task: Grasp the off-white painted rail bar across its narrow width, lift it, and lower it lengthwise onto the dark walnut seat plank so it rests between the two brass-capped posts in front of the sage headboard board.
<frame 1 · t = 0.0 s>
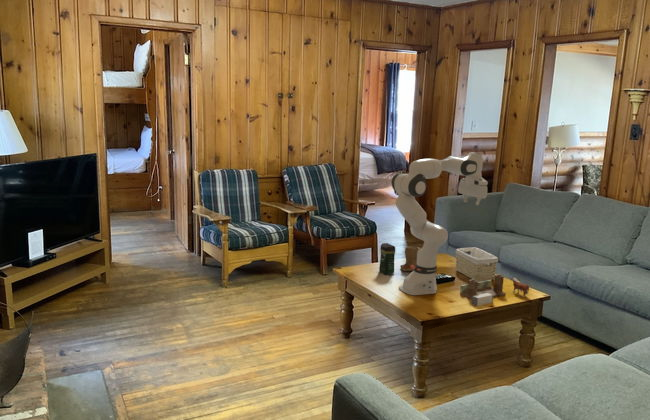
hand: (471, 203, 319), 48 cm above the table, fingers open, 8 cm apart
bull figurine: (518, 294, 311), on the table
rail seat: (482, 294, 308), on the table
coffee jar: (386, 272, 340), on the table
rail bar: (482, 303, 295), on the table
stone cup: (410, 269, 348), on the table
storage basket: (474, 275, 341), on the table
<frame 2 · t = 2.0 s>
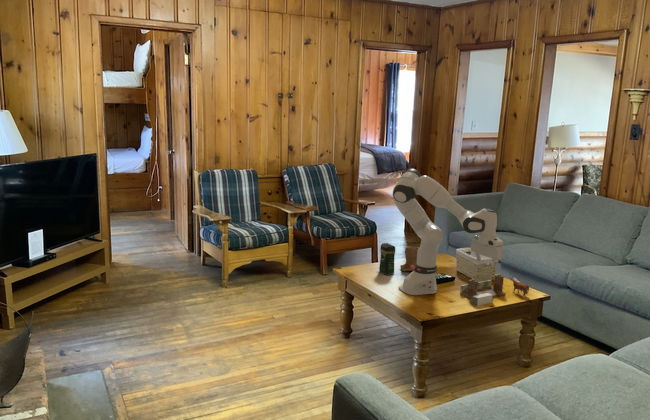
hand: (485, 263, 293), 22 cm above the table, fingers open, 8 cm apart
nothing on the table moved.
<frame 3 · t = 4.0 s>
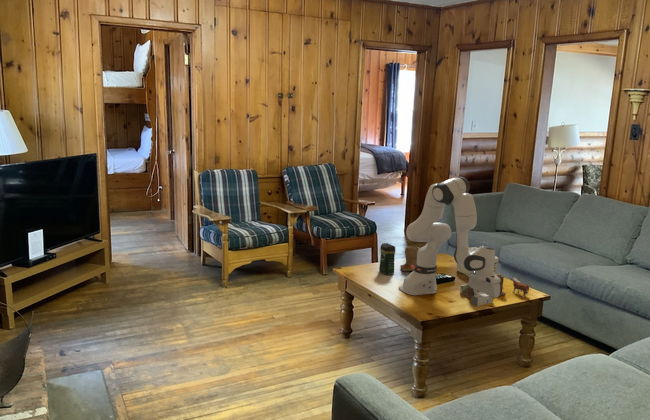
hand: (482, 299, 294), 2 cm above the table, fingers open, 8 cm apart
nothing on the table moved.
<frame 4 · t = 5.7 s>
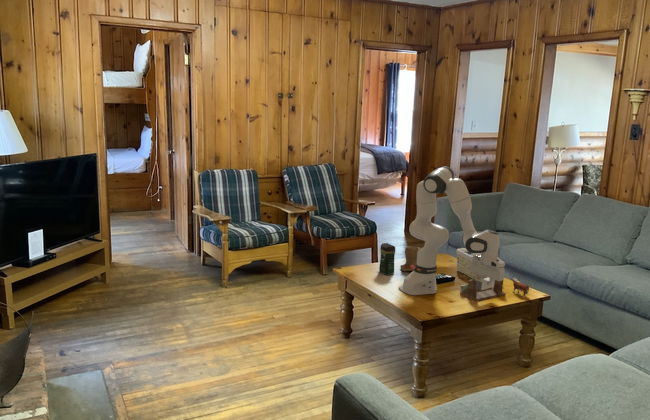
hand: (485, 283, 297), 10 cm above the table, fingers closed on rail bar, 3 cm apart
rail bar: (484, 287, 298), point 7 cm above the table, touching gripper
everything else where it was.
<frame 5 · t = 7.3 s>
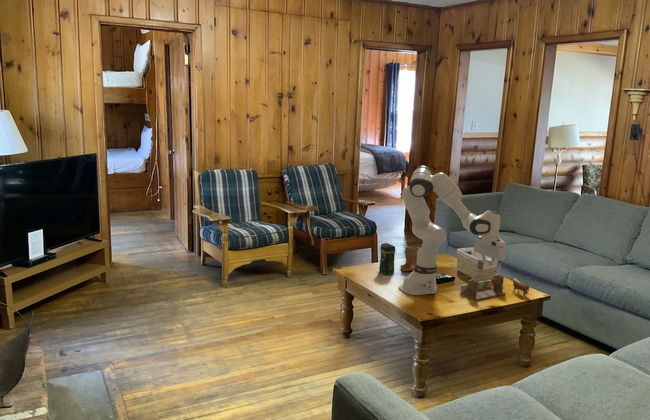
hand: (487, 263, 302), 19 cm above the table, fingers closed on rail bar, 3 cm apart
rail bar: (487, 267, 303), point 16 cm above the table, touching gripper
everything else where it was.
when the fingers open (4 cm above the table, at t = 10.2 s): rail bar stays where it is, resting on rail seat.
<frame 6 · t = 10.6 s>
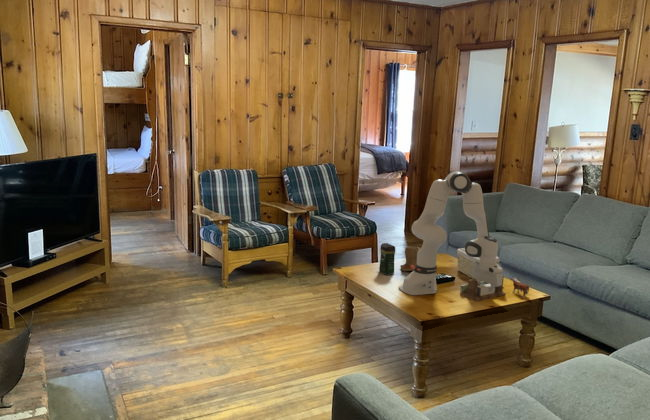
hand: (485, 289, 306), 4 cm above the table, fingers open, 7 cm apart
rail bar: (485, 293, 306), point 1 cm above the table, touching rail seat
everything else where it was.
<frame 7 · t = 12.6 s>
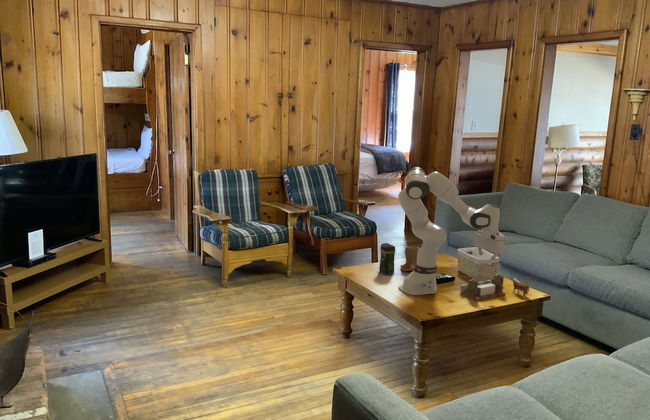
hand: (486, 257, 304), 22 cm above the table, fingers open, 8 cm apart
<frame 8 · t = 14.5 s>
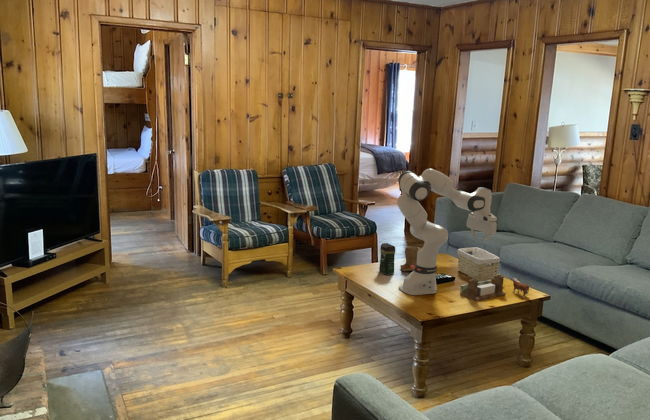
hand: (479, 238, 315), 29 cm above the table, fingers open, 8 cm apart
at the end: rail bar inside the target area on the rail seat (0.5 cm from its centre), point 1.2 cm above the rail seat's base; rail bar tilted 0°; the gripper is holding nothing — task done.
